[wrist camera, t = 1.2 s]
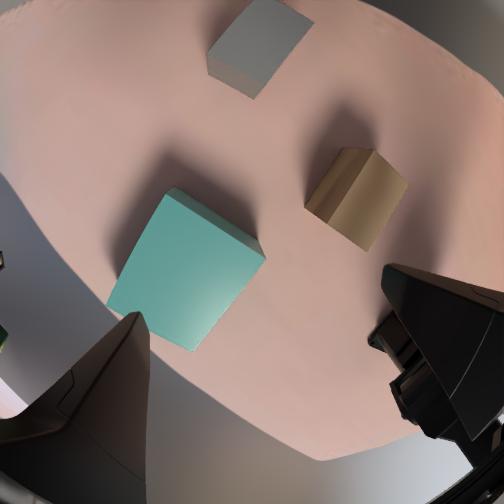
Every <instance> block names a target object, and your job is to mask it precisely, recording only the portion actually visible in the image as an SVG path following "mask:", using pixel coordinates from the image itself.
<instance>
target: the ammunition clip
mask: <svg viewBox="0 0 504 504" xmlns="http://www.w3.org/2000/svg"><path fill="white" fill-rule="evenodd" d="M4 267H5V266H4V261H3V255H2V251H0V270H2V269H3V268H4Z"/></svg>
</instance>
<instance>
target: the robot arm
mask: <svg viewBox="0 0 504 504" xmlns="http://www.w3.org/2000/svg"><path fill="white" fill-rule="evenodd" d="M381 287H382V290H383V292H384V293H385V295H386V297H387V299H388V300H389V302H390V304H391V306H392V308H393V309H394V310H393V311H392V312H391V314H390V315H389V316H388V317H387V319H386V320H385V321H384V322H383V324H382V325H381V326H380V327H379V328H378V330H377V331H376V332H375V333H374V334H373V336H372V337H371V338H370V339H369V340H368V344H369V346H371V347H373V348H376V349H378V350H380V351H383V352H385V353H387V354H388V355H389V357H390V358H391V360H392V361H393V362H394V364H395V365H396V366H397V368H398V369H399V371H400V372H401V374H400V375H399V376H398V377H397V378H396V379H395V380H394V381H392V382H391V383H390V384H389V385H390V387H391V391H392V394H393V396H394V398H395V401H396V403H397V405H398V408H399V410H400V412H401V417H402V418H403V419H404V420H409V421H410V422H411V423H412V424H414V425H419V426H420V427H421V429H422V430H423V432H424V434H425V435H426V436H428V437H430V438H433V439H436V438H440V439H444V440H448V441H452V442H455V443H456V444H457V445H458V447H459V448H460V449H461V451H462V452H463V454H464V455H465V456H466V458H467V459H468V461H469V462H470V463H471V465H472V467H473V469H472V470H471V471H470V472H469V473H467V474H466V475H465V476H464V477H462V478H461V479H460V480H459V481H457V482H456V483H455V484H453V485H452V486H451V487H449V488H448V489H447V490H445V491H444V492H442V493H441V494H439V495H438V496H436V497H435V498H434V499H432V500H431V501H429V502H427V503H426V504H504V423H503V424H502V423H501V422H500V420H499V419H498V417H499V416H500V415H501V414H502V413H503V414H504V292H500V291H495V290H491V289H487V288H484V287H480V286H476V285H473V284H469V283H468V284H467V283H466V282H462V281H458V280H455V279H451V278H448V277H444V276H440V275H437V274H433V273H429V272H426V271H422V270H418V269H415V268H411V267H407V266H403V265H399V264H396V263H391V264H387V265H385V266H384V268H383V273H382V280H381ZM149 380H150V334H149V330H148V327H147V324H146V322H145V319H144V317H143V314H142V313H141V312H140V311H136V312H130V313H128V314H127V315H126V316H125V317H124V318H123V319H122V320H121V321H120V322H119V323H118V324H117V325H115V327H113V328H112V329H111V330H110V331H109V332H108V333H107V334H106V335H105V336H104V337H103V338H102V339H100V341H98V342H97V343H96V344H95V345H94V346H93V347H92V348H91V349H90V350H89V351H88V352H87V353H86V354H85V355H84V356H83V357H82V358H81V359H80V360H79V361H77V362H76V363H75V364H74V365H73V366H72V367H71V369H69V370H68V371H67V372H66V373H65V374H64V375H63V376H62V377H61V378H60V379H59V380H58V381H57V382H56V383H55V384H54V385H53V386H52V387H50V388H49V389H48V390H47V391H46V392H45V393H43V394H42V395H41V396H40V397H39V398H38V399H36V400H35V401H34V402H33V403H32V404H31V405H29V406H28V407H27V408H26V409H25V410H24V411H22V412H21V413H20V414H18V415H17V416H15V417H12V418H8V419H0V504H146V484H145V481H146V478H145V477H146V476H145V455H146V454H145V453H146V452H145V451H146V450H145V449H146V423H147V405H148V392H149Z"/></svg>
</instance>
